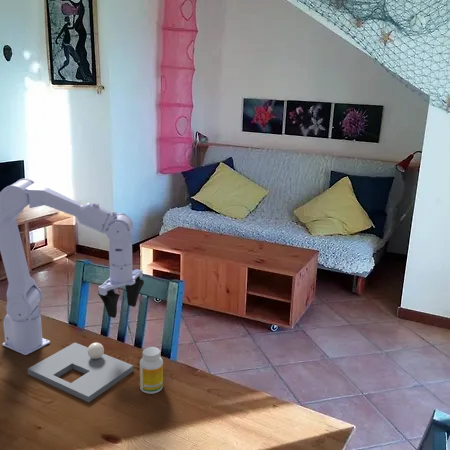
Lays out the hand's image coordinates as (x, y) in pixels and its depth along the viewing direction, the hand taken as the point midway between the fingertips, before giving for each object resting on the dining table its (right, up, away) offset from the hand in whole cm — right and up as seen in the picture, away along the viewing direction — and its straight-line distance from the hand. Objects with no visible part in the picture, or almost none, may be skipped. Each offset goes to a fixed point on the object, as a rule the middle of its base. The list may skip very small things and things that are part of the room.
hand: (122, 311), depth 132 cm
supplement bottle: (+10, -16, -14) cm, 23 cm away
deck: (-8, -13, -9) cm, 18 cm away
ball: (-5, -9, -6) cm, 12 cm away
